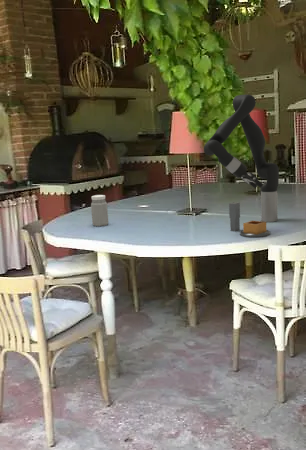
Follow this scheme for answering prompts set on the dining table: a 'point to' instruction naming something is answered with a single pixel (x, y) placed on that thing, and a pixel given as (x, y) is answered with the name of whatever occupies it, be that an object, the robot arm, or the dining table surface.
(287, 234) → the dining table surface
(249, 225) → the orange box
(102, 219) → the jar
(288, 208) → the dining table surface
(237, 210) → the grey tall block
